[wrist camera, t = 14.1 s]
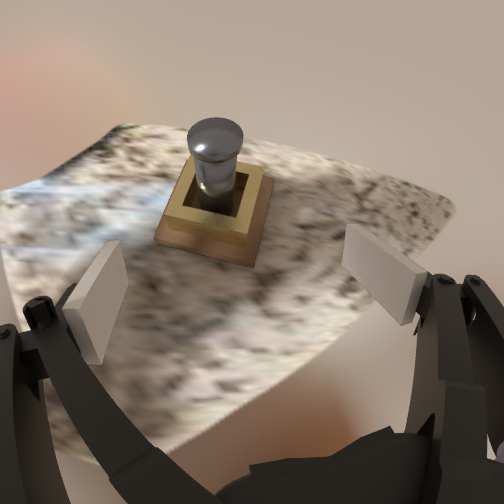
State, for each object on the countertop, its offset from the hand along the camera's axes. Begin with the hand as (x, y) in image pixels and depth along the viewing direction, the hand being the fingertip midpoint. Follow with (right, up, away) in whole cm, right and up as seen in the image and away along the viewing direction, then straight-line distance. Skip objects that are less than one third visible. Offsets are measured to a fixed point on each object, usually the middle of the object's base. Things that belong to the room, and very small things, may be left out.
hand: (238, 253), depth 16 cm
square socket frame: (-3, +6, +18) cm, 19 cm away
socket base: (-4, +5, +19) cm, 20 cm away
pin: (-3, +6, +18) cm, 19 cm away
